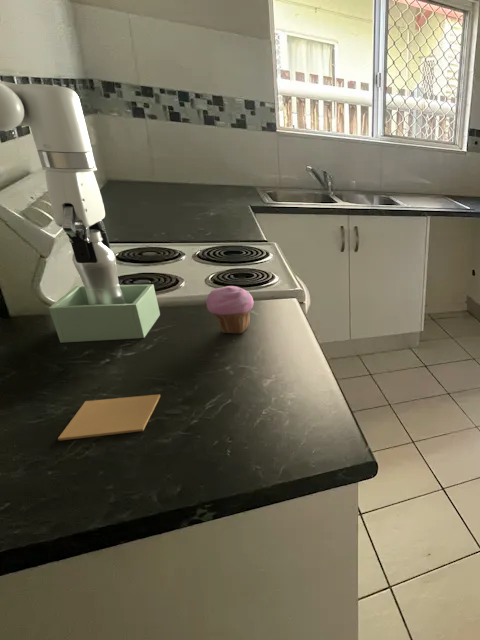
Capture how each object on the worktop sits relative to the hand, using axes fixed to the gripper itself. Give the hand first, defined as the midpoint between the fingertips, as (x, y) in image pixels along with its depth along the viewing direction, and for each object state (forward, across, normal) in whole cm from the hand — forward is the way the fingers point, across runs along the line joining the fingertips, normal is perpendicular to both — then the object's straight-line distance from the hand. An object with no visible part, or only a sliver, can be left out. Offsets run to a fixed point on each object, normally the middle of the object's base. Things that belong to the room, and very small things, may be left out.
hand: (94, 256), depth 93 cm
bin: (+15, 0, 0) cm, 15 cm away
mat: (+15, +36, +10) cm, 40 cm away
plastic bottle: (+15, 0, 0) cm, 15 cm away
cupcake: (+16, +5, +23) cm, 28 cm away
